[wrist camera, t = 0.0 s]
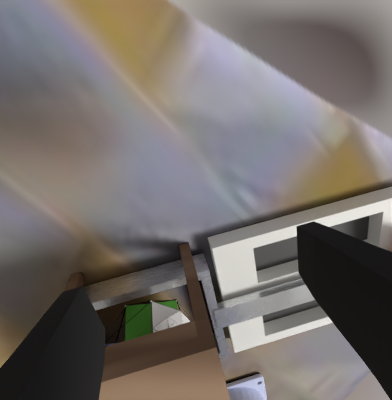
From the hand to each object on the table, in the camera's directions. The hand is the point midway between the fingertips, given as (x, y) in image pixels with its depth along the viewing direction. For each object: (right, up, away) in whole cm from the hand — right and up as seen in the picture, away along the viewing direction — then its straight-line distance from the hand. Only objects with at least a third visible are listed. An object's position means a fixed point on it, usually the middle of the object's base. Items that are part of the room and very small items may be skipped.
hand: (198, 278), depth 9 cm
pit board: (+10, -3, +15) cm, 18 cm away
